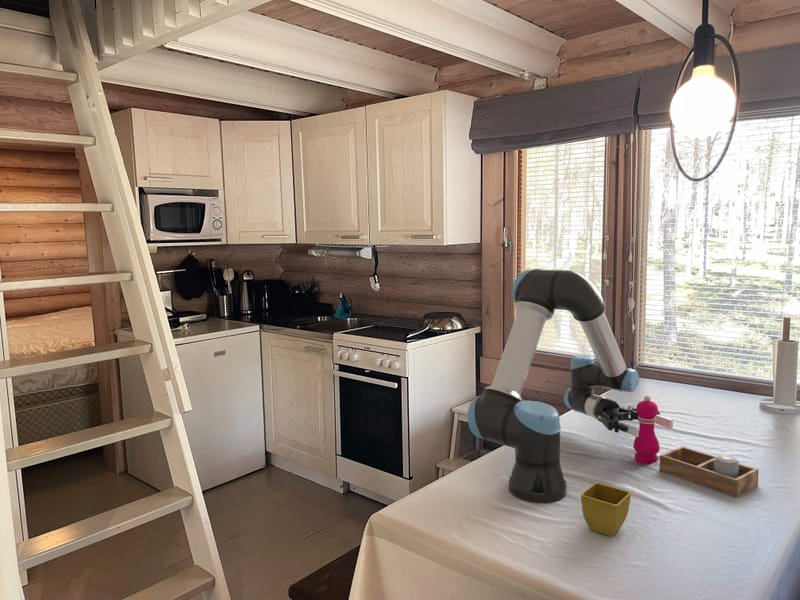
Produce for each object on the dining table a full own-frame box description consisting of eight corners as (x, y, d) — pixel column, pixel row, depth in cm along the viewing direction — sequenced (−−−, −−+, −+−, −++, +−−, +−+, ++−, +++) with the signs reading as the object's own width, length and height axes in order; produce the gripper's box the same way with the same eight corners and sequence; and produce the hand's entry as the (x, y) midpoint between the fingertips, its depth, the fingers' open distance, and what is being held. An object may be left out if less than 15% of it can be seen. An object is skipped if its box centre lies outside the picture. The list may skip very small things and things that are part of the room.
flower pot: (631, 528, 139) (632, 491, 138) (616, 543, 133) (617, 505, 132) (595, 516, 145) (595, 481, 144) (579, 531, 139) (579, 494, 138)
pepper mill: (654, 456, 181) (656, 392, 178) (662, 465, 174) (664, 399, 171) (630, 456, 182) (631, 392, 179) (637, 465, 175) (638, 399, 172)
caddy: (736, 501, 151) (737, 480, 150) (659, 473, 168) (659, 455, 168) (757, 489, 157) (758, 469, 156) (681, 464, 174) (681, 446, 174)
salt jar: (731, 490, 154) (732, 463, 153) (709, 483, 159) (710, 457, 158) (742, 484, 158) (743, 458, 157) (720, 478, 162) (721, 452, 161)
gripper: (631, 414, 198) (685, 433, 179) (572, 426, 188) (622, 448, 169) (631, 392, 197) (686, 409, 178) (572, 403, 187) (622, 422, 168)
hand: (655, 428), depth 174 cm, fingers open, 13 cm apart
